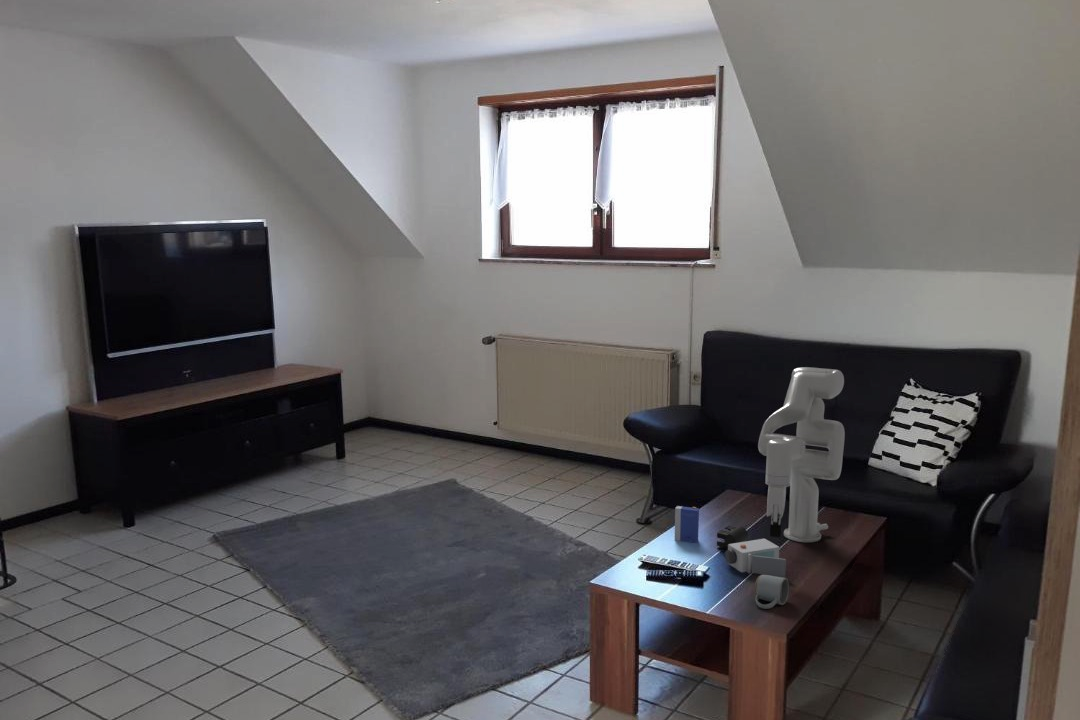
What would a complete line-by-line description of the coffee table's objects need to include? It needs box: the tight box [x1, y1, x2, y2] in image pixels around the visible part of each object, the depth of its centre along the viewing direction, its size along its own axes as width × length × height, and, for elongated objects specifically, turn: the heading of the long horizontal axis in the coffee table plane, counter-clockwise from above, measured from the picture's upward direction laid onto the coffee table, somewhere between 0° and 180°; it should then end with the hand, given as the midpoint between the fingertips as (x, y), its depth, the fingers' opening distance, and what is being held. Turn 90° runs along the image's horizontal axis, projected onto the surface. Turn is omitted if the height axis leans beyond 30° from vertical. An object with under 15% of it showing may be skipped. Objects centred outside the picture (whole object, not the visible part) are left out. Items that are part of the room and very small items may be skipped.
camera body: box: [724, 538, 780, 573], centre depth 276 cm, size 16×8×7 cm, turn 111°
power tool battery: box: [716, 525, 749, 553], centre depth 291 cm, size 10×7×7 cm
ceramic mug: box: [754, 574, 790, 610], centre depth 249 cm, size 11×8×8 cm
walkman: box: [674, 505, 700, 544], centre depth 298 cm, size 8×3×12 cm, turn 68°
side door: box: [746, 554, 787, 578], centre depth 269 cm, size 12×1×6 cm, turn 71°
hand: (775, 535), depth 269 cm, fingers closed
